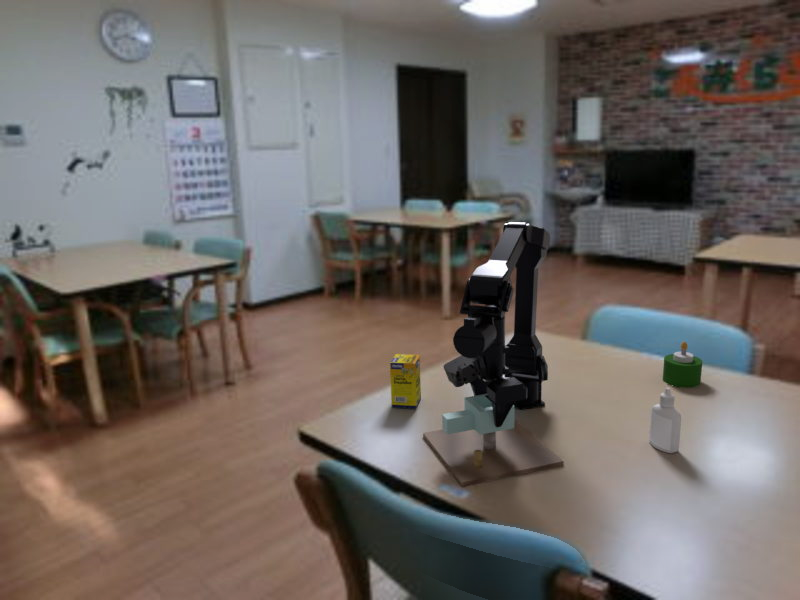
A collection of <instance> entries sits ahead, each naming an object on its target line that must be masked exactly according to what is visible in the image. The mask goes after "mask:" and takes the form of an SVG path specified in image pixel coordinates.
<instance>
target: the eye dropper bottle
mask: <svg viewBox="0 0 800 600" xmlns="http://www.w3.org/2000/svg"><path fill="white" fill-rule="evenodd" d="M659 396H660V397H659V403H656V404H654V405H653V406H652V407H651V410H650V411H651V412H650V425H649V438H648V439H649V443H650V445H651V446H653V448H655V449H656V450H659V451H660V452H661V451H662V452H664V453H667V454H675V453H676V452H679V449H680V440H681V439H680V438H681V430H682V429H681V426H682V415H681V413H680V412H679V410H678V409H677V408H676V407H674V406H675V395H674V394H673V393H672V391H671V388H670V387H665V389H664V392H662V393H660V394H659Z"/></svg>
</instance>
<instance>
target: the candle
mask: <svg viewBox="0 0 800 600" xmlns="http://www.w3.org/2000/svg"><path fill="white" fill-rule="evenodd" d="M680 348H681V349H680V351H676V352H673V353H671V354H666V355H665V356H663V357H664V358H663V366H662V367H663V368H662V369H663V370H662V382H663V383H665V382H666V383H668V384H667V385H669V384H670V385H669V386H671V385H673V386H672V387H675V386H676V388H681V387H682V388H683V389H691V388H692V387H693V388H697V387H699V386H701V380H702V368H703V360H702V359H701V358H700V357H698V356H694V353H691V352H688V351H687V350H688V343H687V341H682V343H681V344H680ZM666 383H665V384H666ZM684 387H685V388H684Z"/></svg>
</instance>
